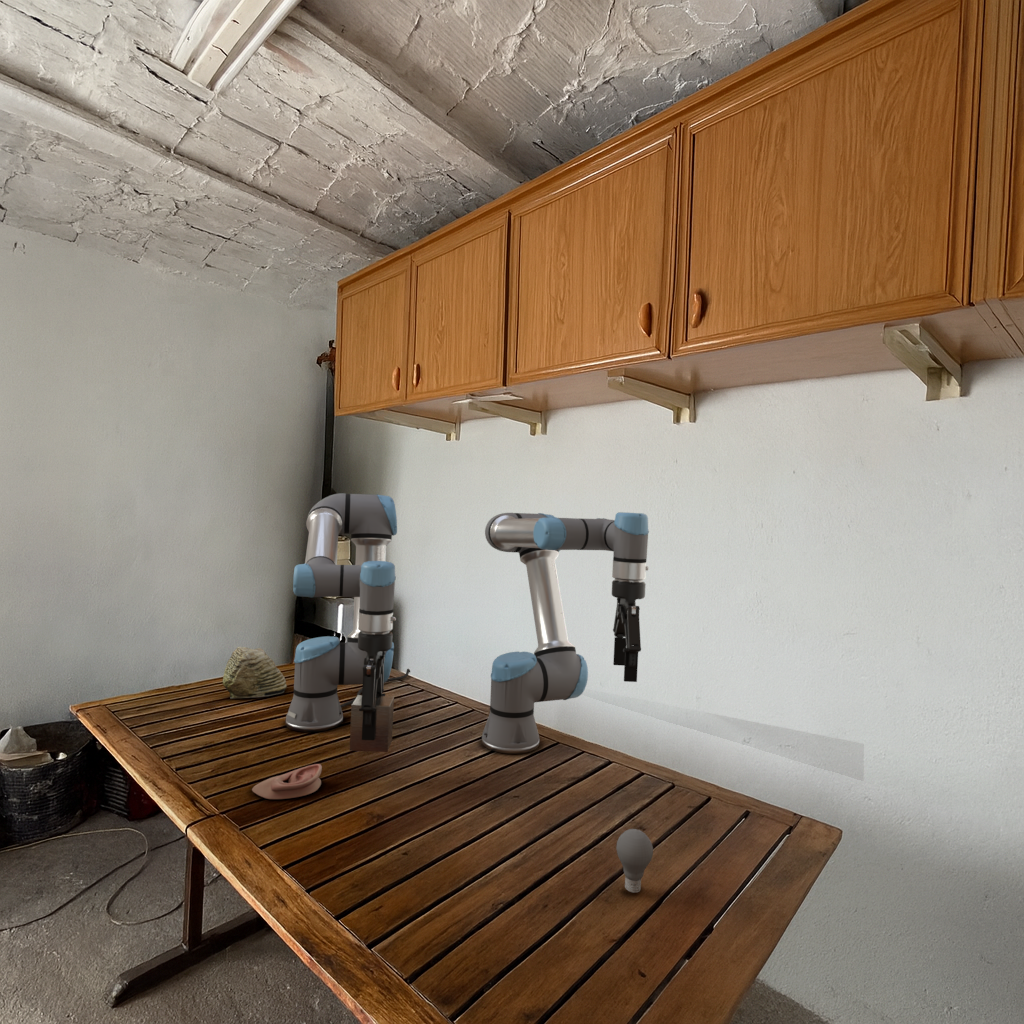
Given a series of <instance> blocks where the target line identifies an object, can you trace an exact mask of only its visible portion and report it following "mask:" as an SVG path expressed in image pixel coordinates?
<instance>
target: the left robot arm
mask: <svg viewBox="0 0 1024 1024" xmlns="http://www.w3.org/2000/svg"><path fill="white" fill-rule="evenodd" d="M305 525H306V528H307V531H308V538H307V544H306V552H305V560H304V563H301V564H300V563H298V564H296V565H295V566H294V568H293V569H294V570H293V579H292V581H293V582H292V590H293V594H294V595H295V596H296V597H301V598H303V597H304V598H310V599H311V598H353V623H352V624H353V625H352V631H351V632H350V633H349V634H348V635H347V636H346V637H347V638H346V642H341V640H340V638H339V637H337V636H330V635H327V636H318V637H313V638H308V639H306V640H303V641H302V642H299V643H298V644H297V645H296V648H295V655H294V660H293V663H294V680H293V695H292V696H293V697H292V699H291V702H290V704H289V708H288V711H287V713H286V715H285V726H286V728H287V729H289V730H291V731H294V732H295V731H296V732H301V733H316V732H325V731H329V730H332V729H335V728H337V727H339V726H340V725H342V723H343V722H344V714H343V709H342V708H345V707H347V706H351V705H352V703H353V702H354V700H355V699H356V697H357V696H358V695H362V703H361V708H359V711H363V721H362V740H375V723H376V710H375V702H376V696H386V693H384V691H385V688H384V687H385V686H384V684H385V683H389V682H393V681H400V680H403V679H406V678H407V677H408V676H409V674H410V673H411V670H410V669H409V668H406V672H405V674H404V675H401V676H396V677H390V675H391V671H392V666H393V660H394V653H395V652H394V650H395V643H394V642H393V635H394V634H393V632H392V630H393V629H394V622H395V621H396V620H397V618H396V617H395V616H394V603H395V587H396V586H395V585H396V565H395V564H394V563H393V562H392V561H387V547H388V545H389V544H390V543H392V538H393V536H396V535H397V534H398V519H397V510H396V504H395V501H394V499H393V497H391V496H390V495H383V494H377V493H376V494H370V493H369V494H368V493H367V494H364V493H345V492H343V493H342V492H341V493H340V492H339V493H334V494H330V495H328V496H326V497H324V498H322V499H320V500H319V501H318V502H317V503H315V504H314V505H313V506H312V508H311V509H310V510H309V512H308V514H307V516H306V524H305ZM340 534H344V535H350V541H351V543H352V544H354V546H355V563H354V564H338V547H339V535H340ZM350 685H354V686H355V685H362V687H361V688H360V689H359V690H358V691H357V692H356V693H357V694H356V697H355V698H353V699H352V700H349V701H347V702H344V703H342V704H341V702H340V699H339V695H338V686H350Z"/></svg>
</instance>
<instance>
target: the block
mask: <svg viewBox="0 0 1024 1024" xmlns="http://www.w3.org/2000/svg"><path fill="white" fill-rule="evenodd" d="M355 698H356V699H355ZM355 698H354V699H355V700H354V702H353V703H352V704H350V707H351V708H350V732H349V734H350V735H349V736H350V737H349V751H350V752H373V753H374V752H377V753H388V752H389V749H390V747H391V744H392V741H393V733H394V731H393V729H394V710H395V709H394V707H395V706H394V705H395V696H391V695H389V696H386V695H385V696H376V702H375V710H376V723H375V740H362V721H363V711H359V708H361V703H362V694H360V695H358V696H357V695H356V697H355Z"/></svg>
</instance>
